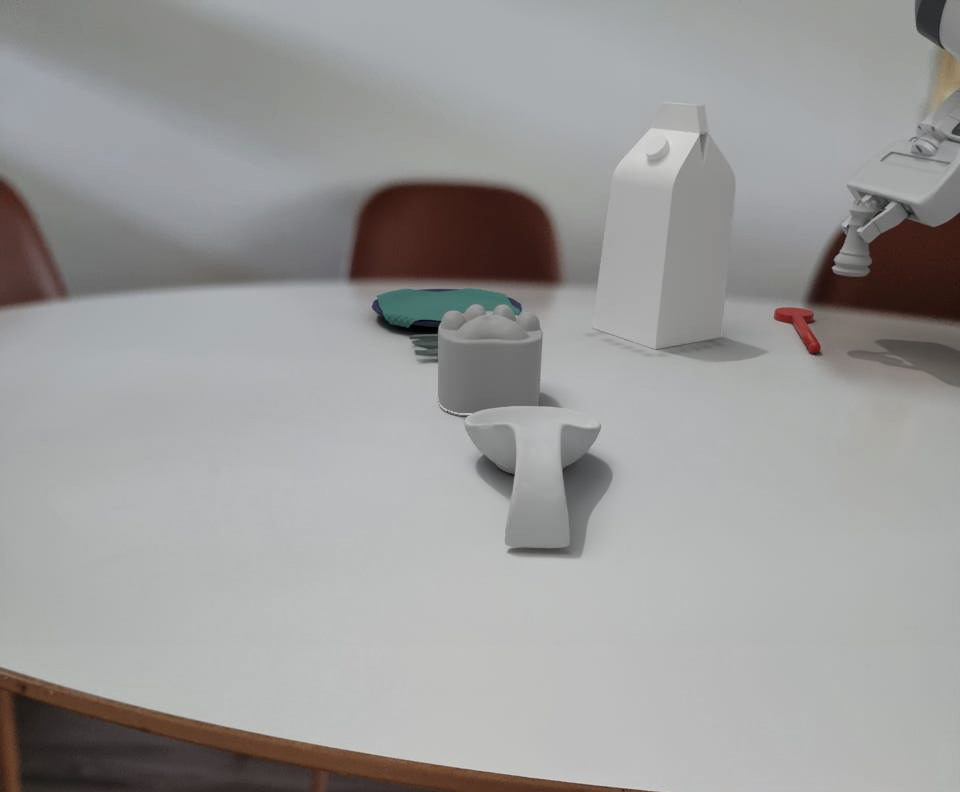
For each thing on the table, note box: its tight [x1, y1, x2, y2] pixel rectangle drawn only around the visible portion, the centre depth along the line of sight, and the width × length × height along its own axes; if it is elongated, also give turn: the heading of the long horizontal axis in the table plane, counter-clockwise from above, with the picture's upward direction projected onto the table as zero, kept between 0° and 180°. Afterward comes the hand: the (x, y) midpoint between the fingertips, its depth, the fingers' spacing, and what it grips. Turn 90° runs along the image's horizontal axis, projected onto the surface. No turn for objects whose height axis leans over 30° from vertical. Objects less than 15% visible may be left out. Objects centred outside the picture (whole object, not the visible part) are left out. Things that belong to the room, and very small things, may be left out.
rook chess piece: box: [831, 199, 879, 278], centre depth 115 cm, size 4×4×8 cm
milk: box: [591, 101, 737, 350], centre depth 119 cm, size 12×12×26 cm
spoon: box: [773, 306, 822, 355], centre depth 127 cm, size 21×5×1 cm, turn 172°
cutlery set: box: [371, 287, 523, 356], centre depth 125 cm, size 20×30×2 cm, turn 10°
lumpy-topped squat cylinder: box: [437, 304, 544, 417], centre depth 99 cm, size 10×13×9 cm
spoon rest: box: [463, 405, 602, 549], centre depth 79 cm, size 24×12×7 cm, turn 0°
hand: (853, 235), depth 115 cm, fingers closed on rook chess piece, 3 cm apart
